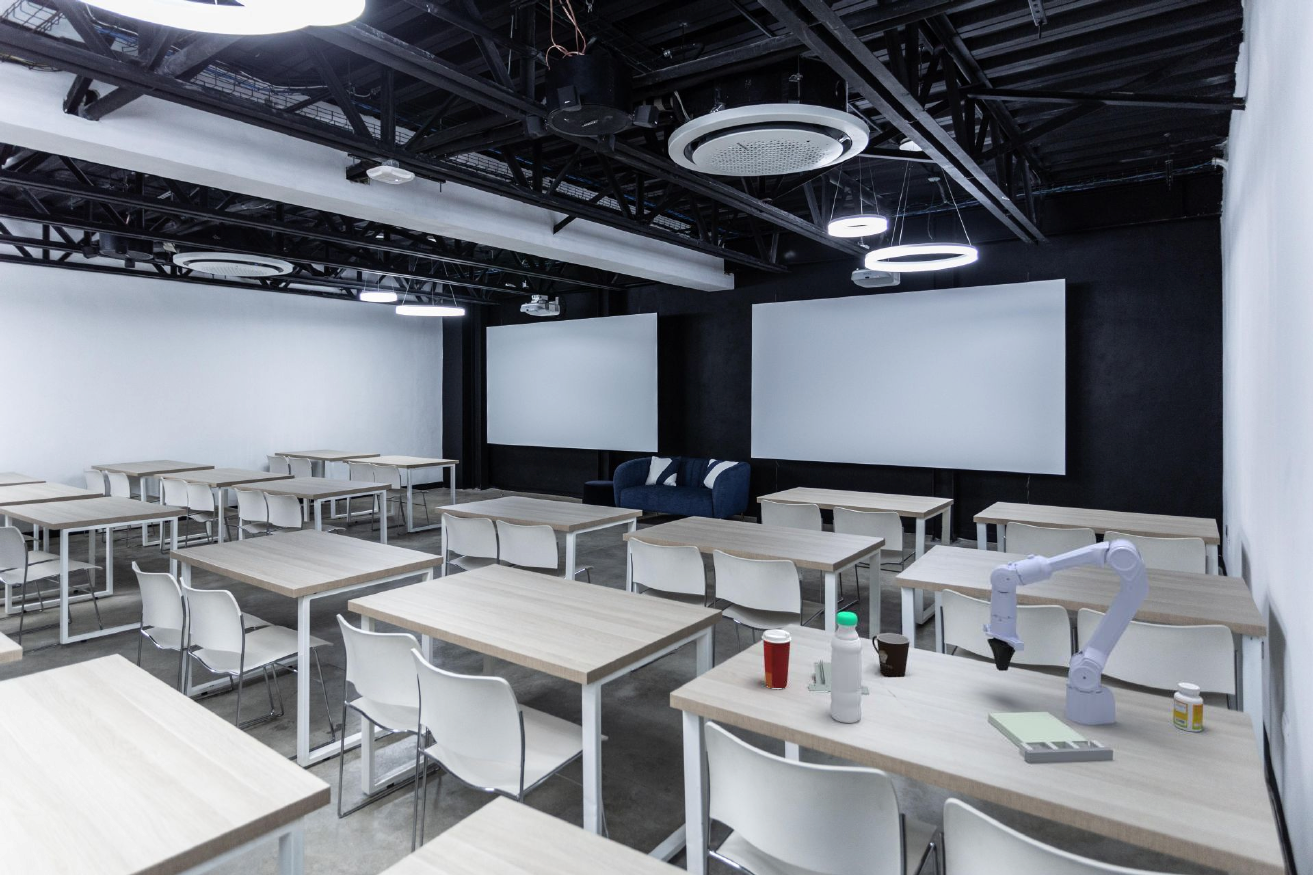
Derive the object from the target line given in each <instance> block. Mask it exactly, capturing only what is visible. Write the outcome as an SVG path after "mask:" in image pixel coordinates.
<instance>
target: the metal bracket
mask: <svg viewBox="0 0 1313 875" xmlns="http://www.w3.org/2000/svg"><path fill="white" fill-rule="evenodd" d="M813 667H814V676H815V683H808V689H809V690H810V691H828V692H827V693H829V692H831V687H832V684H831V662H827V661H826V662H824V660H823V659H820V660H819V661H814V662H813ZM860 689H861V696H870V692H869V691H870V690H869V687H868V686H864V685H863V686H862V685H861V688H860ZM809 690H808V691H809ZM810 691H809V692H810Z"/></svg>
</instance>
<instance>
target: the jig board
mask: <svg viewBox="0 0 1313 875" xmlns="http://www.w3.org/2000/svg"><path fill="white" fill-rule="evenodd" d="M1089 746H1094V747H1095V748H1080V747H1078V746H1077V745H1076V744H1074V743H1073V742H1072V741H1066V744H1065V749H1059V748H1057V747H1056V746H1055V745H1053V744H1052V743H1051V742H1044V747H1047V748H1048V749H1039V750H1034V749H1032V748H1031V747H1030V746H1029V745H1027V744H1026V743H1020V747H1019V752H1018V753H1019V754H1020V755H1021V756H1022V757H1024V761H1025V762H1026V763H1027V764H1041V763H1043V764H1045V763H1047V764H1048V763H1068V762H1069V763H1071V762H1073V763H1076V762H1101V761H1113V760H1114V750H1113V749H1112V748H1111V747H1108V746H1105V745H1103V744H1101V743H1100V742H1099V741H1097V740H1095V739H1094V740H1090V741H1089Z"/></svg>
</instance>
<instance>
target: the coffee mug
mask: <svg viewBox="0 0 1313 875" xmlns="http://www.w3.org/2000/svg"><path fill="white" fill-rule="evenodd" d="M875 639H876V642H877V646H876V644H875ZM910 641H911V640H910V638H909V637H907V636H905V635H903V634H899V633H898V634H897V633H893V632H886V633H879V634H878V635H875V636H872V639H871V642H872V646H873V648H874V650H875V652H876V653H877V654H878V662H879V671H880V672H879V673H880V675H882V676H883V677H885V678H888V679H889V678H905V676H906V671H907V663H908V657H909V648H910Z"/></svg>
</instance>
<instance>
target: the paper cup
mask: <svg viewBox="0 0 1313 875" xmlns="http://www.w3.org/2000/svg"><path fill="white" fill-rule="evenodd" d="M761 639H762V642H763V643H762V644H763V661H764V679H765V686H766V687H767V686H768V687H770V688H769V689H771V688H784V689H786V688H787V687H788V681H789V680H788V676H789V663H790V652H791V651H790V650H791V649H790V648H791V641H792V636H791V634H790V632H789V631H786V630H783V629H778V628H777V629H776V628H775V629H774V628H773V629H767V630H764V632H763V633H762V635H761ZM786 686H787V687H786ZM768 687H767V688H768ZM785 687H786V688H785Z"/></svg>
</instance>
